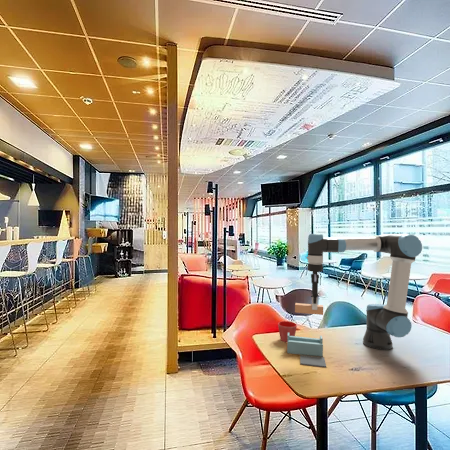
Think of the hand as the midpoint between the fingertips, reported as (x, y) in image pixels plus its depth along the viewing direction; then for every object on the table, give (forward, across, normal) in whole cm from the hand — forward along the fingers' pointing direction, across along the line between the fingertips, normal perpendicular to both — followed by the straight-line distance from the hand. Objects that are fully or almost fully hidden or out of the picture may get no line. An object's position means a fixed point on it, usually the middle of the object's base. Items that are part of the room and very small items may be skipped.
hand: (314, 308), depth 154 cm
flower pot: (+25, -19, -15) cm, 35 cm away
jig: (+25, -5, -5) cm, 26 cm away
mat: (+25, +6, -1) cm, 26 cm away
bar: (+2, 0, -3) cm, 4 cm away
